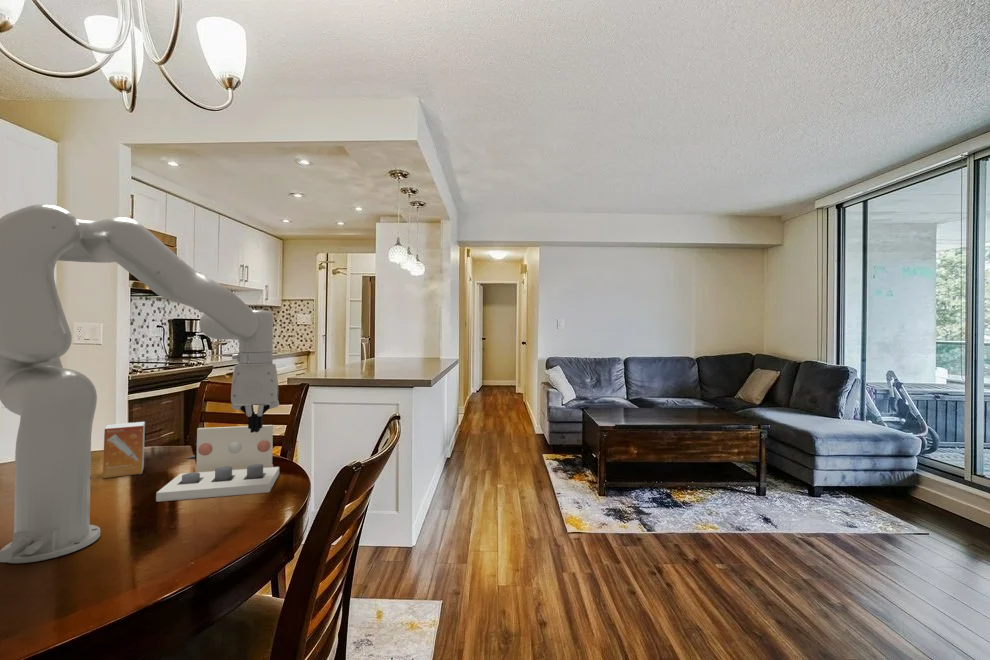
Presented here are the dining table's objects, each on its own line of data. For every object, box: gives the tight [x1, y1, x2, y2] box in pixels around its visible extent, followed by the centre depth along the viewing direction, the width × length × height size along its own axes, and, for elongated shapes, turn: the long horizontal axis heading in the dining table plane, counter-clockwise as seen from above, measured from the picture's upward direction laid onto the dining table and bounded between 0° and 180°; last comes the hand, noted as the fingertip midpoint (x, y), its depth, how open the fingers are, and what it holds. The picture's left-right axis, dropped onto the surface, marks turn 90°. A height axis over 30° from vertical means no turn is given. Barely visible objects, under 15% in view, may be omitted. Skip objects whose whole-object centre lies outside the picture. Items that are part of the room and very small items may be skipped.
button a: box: [182, 472, 200, 484], centre depth 107 cm, size 4×4×3 cm
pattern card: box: [195, 424, 274, 472], centre depth 120 cm, size 4×18×12 cm, turn 107°
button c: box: [247, 464, 263, 479], centre depth 111 cm, size 4×4×3 cm
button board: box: [155, 466, 280, 502], centre depth 109 cm, size 14×23×2 cm, turn 107°
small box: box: [102, 421, 146, 479], centre depth 118 cm, size 8×6×13 cm
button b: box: [215, 466, 232, 482], centre depth 109 cm, size 4×4×3 cm
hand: (255, 431), depth 111 cm, fingers closed
